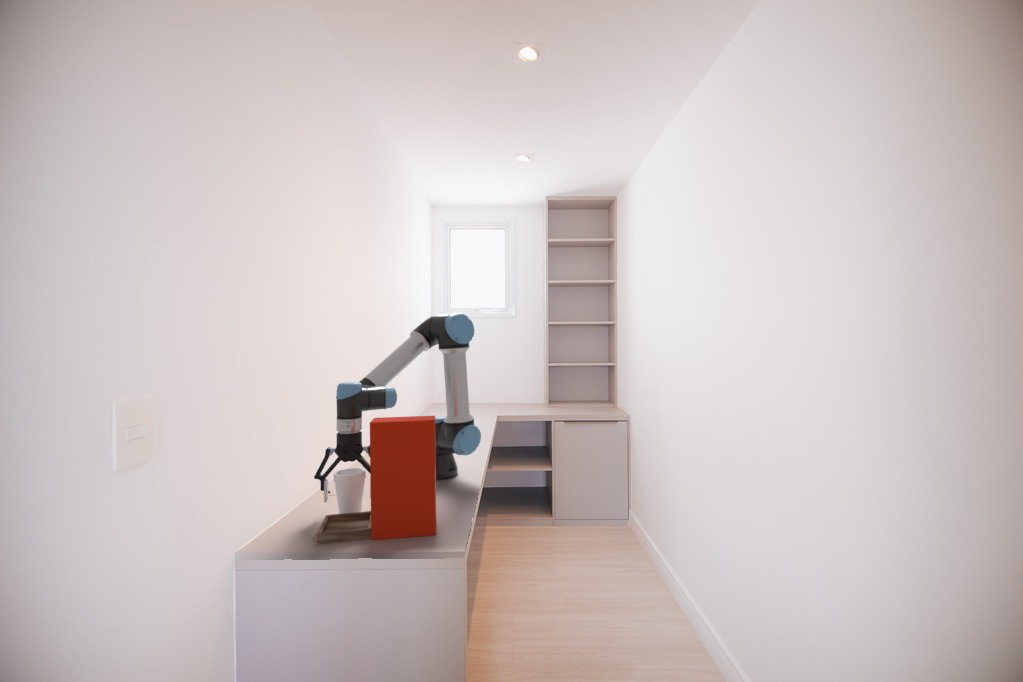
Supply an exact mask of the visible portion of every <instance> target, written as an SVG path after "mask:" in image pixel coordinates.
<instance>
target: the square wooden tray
mask: <svg viewBox="0 0 1023 682" xmlns="http://www.w3.org/2000/svg"><path fill="white" fill-rule="evenodd" d="M315 535H316V536H315V537H316V545H321V544H329V543H338V542H339V543H340V542H347V541H348V542H349V541H358V540H359V541H360V540H367V539H371V510H367V511H361V512H355V513H345V514H340V513H334V514H326V515H325V516H324V518H323V520H322V522H321V524H320V527H319V528H318V531H317V533H316V534H315Z"/></svg>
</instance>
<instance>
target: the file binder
mask: <svg viewBox="0 0 1023 682" xmlns="http://www.w3.org/2000/svg"><path fill="white" fill-rule="evenodd" d="M435 418H436V415H421V416H419V415H415V416H414V415H413V416H391V417H389V416H388V417H387V416H385V417H374V418H373V419H372V420H371V421H370V422H369V445H370V457H369V458H370V460H369V461H370V462H369V464H370V473H369V474H370V478H371V499H370V511H371V538H370V539H371V541H375V540H376V541H377V540H388V539H389V540H391V539H392V540H393V539H402V538H405V539H406V538H417V537H428V536H433V537H434V536H436V535H437V524H438V523H437V520H438V519H437V479H436V446H435Z"/></svg>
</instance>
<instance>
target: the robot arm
mask: <svg viewBox="0 0 1023 682" xmlns="http://www.w3.org/2000/svg"><path fill="white" fill-rule="evenodd" d="M474 336H475V327H474V323H473V321H472V319H471V318H470V317H469V316H468V315H466V314H464V313H462V312H452V313H442V314H441V313H440V314H435V315H433V316H430V317H428V318H427V319H425V320H424V321H422V322H421V323H420V324H419V325H418V326H417V327H415V329H413V330H412V331H411V332H410V333H409V337H408V338H407V339H406V340H405V341H404V342H402V343H401V344H400V345H399V346H398V347H397V348H396V349H394V350H393V352H391V353H390V354H389V355H387V357H386V358H384V359H383V360H382V361H380V363H379V364H378V365H376V366H375V367H374V369H372V370H370V372H369V373H368V374H366V375H365V376H364V377H363V378H362V379H361V380H360V381H357V382H356V381H354V382H353V381H350V382H349V381H345V382H341V383H338V385H337V386H336V397H335V400H336V431H337V433H336V446H335V448H334V447H331V446H328V447H327V448H326V449H325V453H324V457H323V459H322V461H321V462H320V465H319V467H318V468H317V470H316V472H315V474H314V477H313V479H315V480H318V481H320V492H324V493H323V497H324V498H323V503H327V502H328V500H329V478H328V476H329V475H330V474H331V473H332V471H333V470H334V469H335V468H336V467H337V465H338V464H339V463H340V462H344V463H347V462H355V461H356V462H358V463H359V464H361V466H362V467H363V469H365V470H366V471H367V472H368V473H369V474H370V462H368V461H367V460H366V458H364V456H363V455H362V453H363V451H364V452H365V454H368V457H369V458H370V444H369V445H368V446H367V445H366V446H363V432H362V431H361V430H362V429H363V412H367V411H376V410H377V411H378V410H387V409H392V408H394V407H395V406H396V404H397V401H398V394H397V391H396V389H395V387H394V386H392V385H391V386H389V385H388V384H389V383H391V382H392V381H393V380H394V379H395V378H396V377H397V376H398V375H399V374H400V373H401V372H402V371H404V370H405V369H406V368H407V367H408V366H409V365H411V363H412V362H413V361H415V360H416V358H418V357H419V356H420V355H421V354H422V353H423V352H428V351H429V350H430V349H432V348H433V347H435V346H436V345H438V350H439V351H440V353H442V356H443V358H442V359H443V368H444V369H443V370H444V385H445V386H444V387H445V400H446V401H445V402H446V416H441V417H440V416H439V417H438V416H436V417H435V446H436V480H445V479H450V478H453V477H456V476H457V475H458V473H459V470H458V469H459V468H458V465H457V462H456V459H455V456H454V455H458V456H469V455H471V454H474V453H475V451H476V450H477V448H478V447H479V446H480V444H481V439H482V438H481V437H482V434H481V433H482V432H481V430H480V428H479V427H478V426H476V425H475V418H474V416H473V415H472V414H470V413H471V412H470V400H469V388H468V387H469V385H468V367H467V351H468V350H469V349H470V342H471V341H472V340H473V338H474ZM387 385H388V386H387ZM333 453H334V454H335V455H336V456H337V457H336V459H335V460H334V461H333V462H332V464H330V466H329V467H328V469H326V471H325V472H324V473H323V474H322V472H323V470H324V468H325V466H326V464H327V462H328V460H329V458H330V457H331V456H332V455H333ZM369 480H370V481H369V486H370V488H369V489H370V490H369V492H370V493H369V495H370V496H369V497H370V500H371V478H370V479H369Z"/></svg>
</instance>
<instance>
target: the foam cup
mask: <svg viewBox="0 0 1023 682" xmlns="http://www.w3.org/2000/svg"><path fill="white" fill-rule="evenodd" d="M366 471H367V470H366V469H365V468H364V467H363V468H362V467H349V468H342V469H339V470H336V471H335V472H333V482H334V487H335V492H336V500H337V506H338V512H339V513H338V514H345V513H355V512H362V506H363V498H364V489H365V481H366V477H367V474H366V473H367V472H366Z"/></svg>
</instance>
